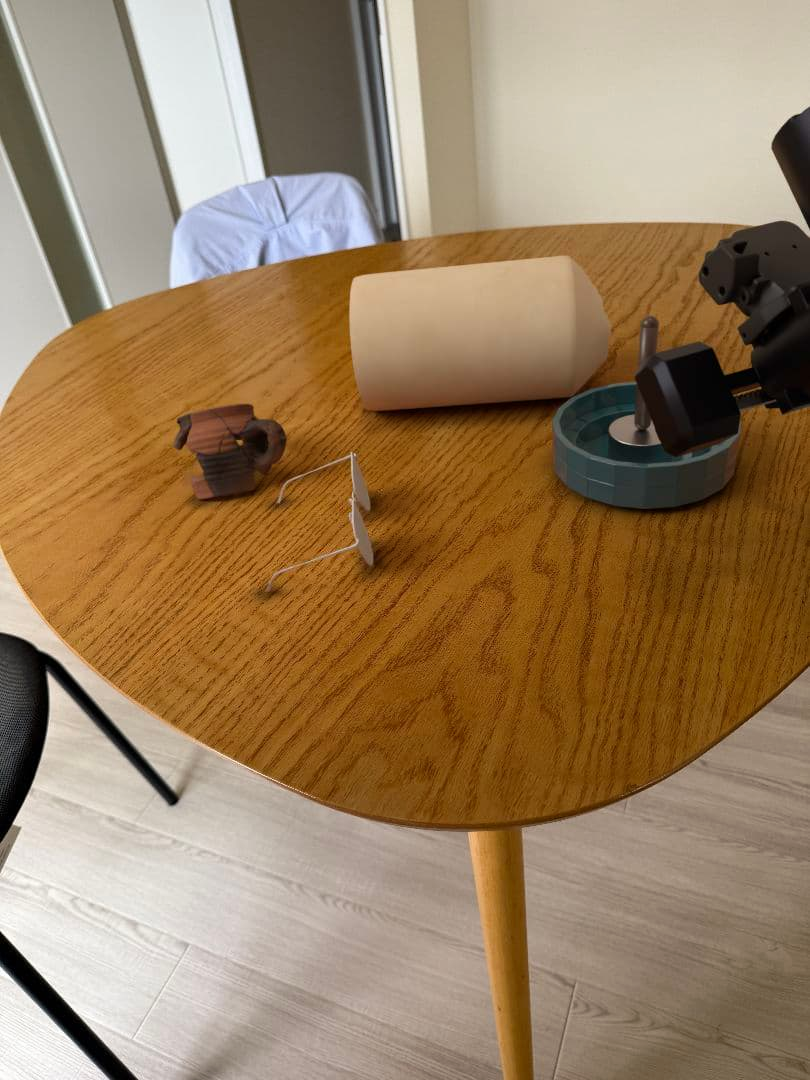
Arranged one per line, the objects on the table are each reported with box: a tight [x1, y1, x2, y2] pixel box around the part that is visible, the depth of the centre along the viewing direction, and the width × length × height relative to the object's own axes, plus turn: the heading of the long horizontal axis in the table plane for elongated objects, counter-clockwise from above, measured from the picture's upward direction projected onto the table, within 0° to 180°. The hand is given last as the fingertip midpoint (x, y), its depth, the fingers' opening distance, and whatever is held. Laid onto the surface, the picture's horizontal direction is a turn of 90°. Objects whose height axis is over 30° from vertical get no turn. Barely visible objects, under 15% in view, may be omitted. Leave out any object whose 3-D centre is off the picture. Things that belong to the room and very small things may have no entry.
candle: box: [348, 254, 612, 412], centre depth 80 cm, size 14×14×25 cm
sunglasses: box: [265, 451, 374, 593], centre depth 65 cm, size 14×8×5 cm, turn 4°
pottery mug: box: [173, 403, 288, 501], centre depth 75 cm, size 12×10×8 cm
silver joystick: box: [607, 314, 674, 464], centre depth 65 cm, size 6×6×13 cm
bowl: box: [551, 381, 742, 510], centre depth 68 cm, size 15×15×4 cm
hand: (712, 417), depth 57 cm, fingers open, 9 cm apart
